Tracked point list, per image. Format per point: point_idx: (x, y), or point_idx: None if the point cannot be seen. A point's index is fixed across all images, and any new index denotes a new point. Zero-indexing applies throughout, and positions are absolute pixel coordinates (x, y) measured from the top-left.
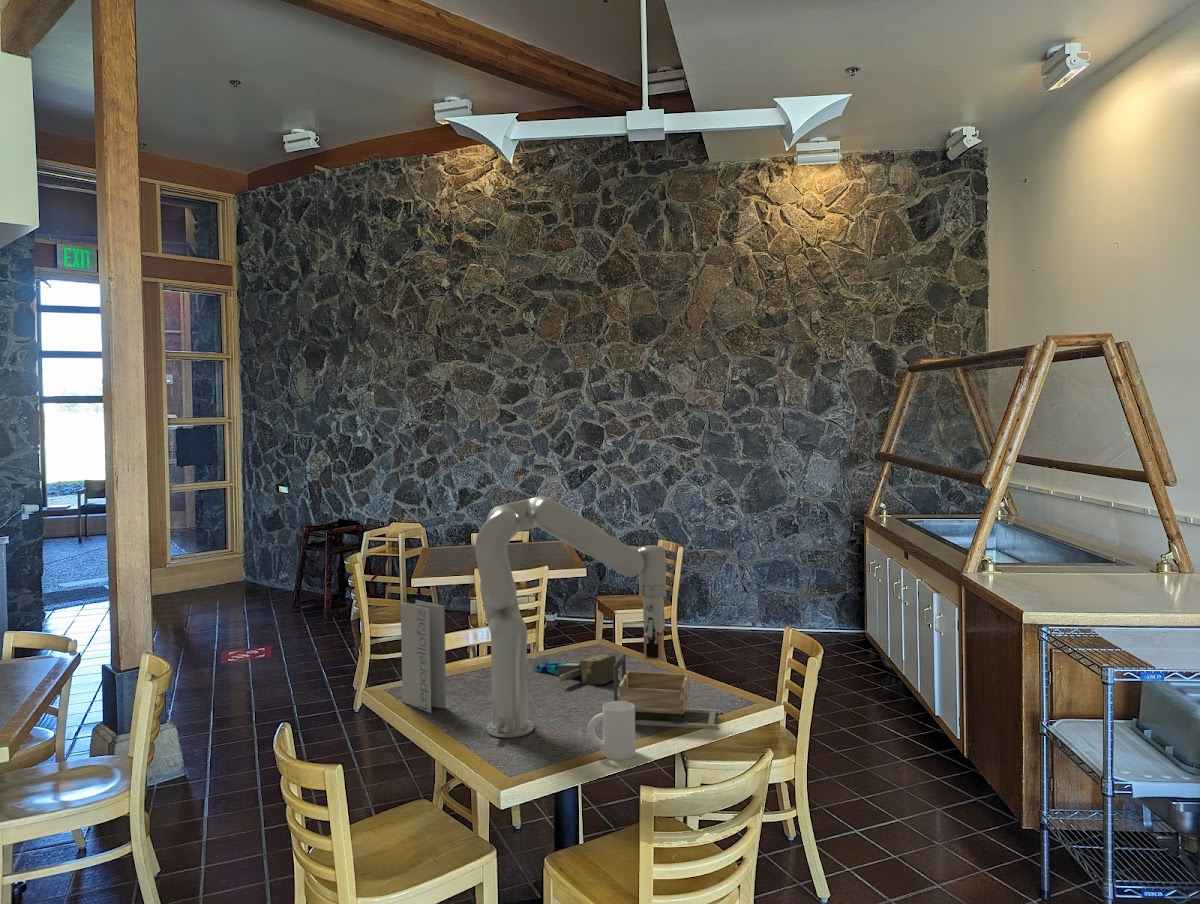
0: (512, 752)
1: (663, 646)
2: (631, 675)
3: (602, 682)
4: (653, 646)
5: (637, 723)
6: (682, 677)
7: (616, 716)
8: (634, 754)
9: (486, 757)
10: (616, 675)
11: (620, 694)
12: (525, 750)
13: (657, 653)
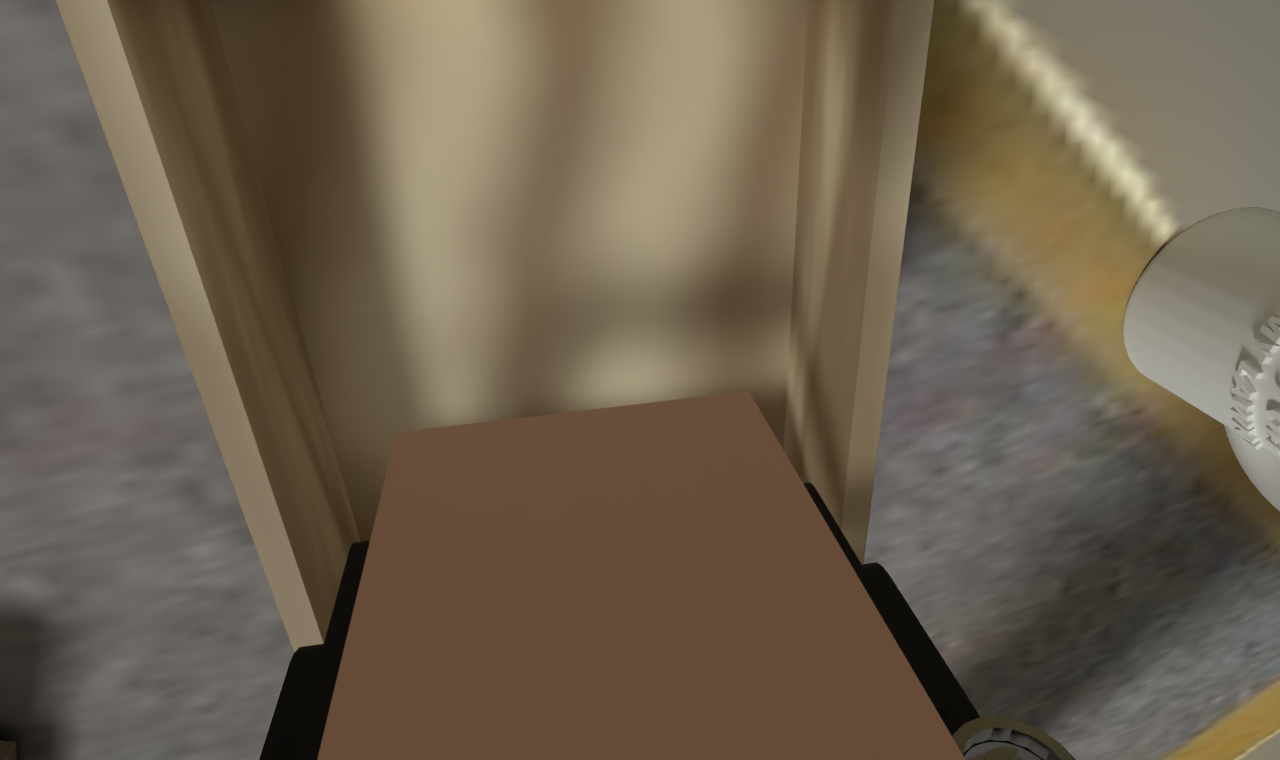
0: (1118, 707)
1: (477, 563)
2: None
3: (7, 755)
4: (959, 719)
5: None
6: (145, 48)
7: None
8: (1264, 208)
9: (1155, 754)
10: None
11: None
12: (1103, 679)
13: (839, 539)
